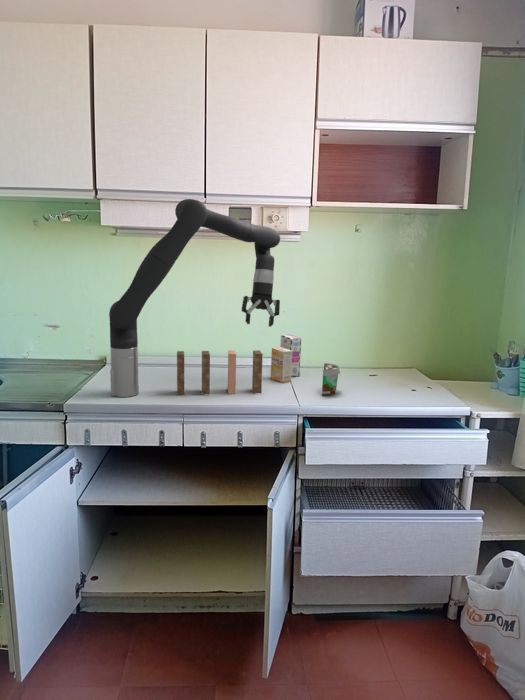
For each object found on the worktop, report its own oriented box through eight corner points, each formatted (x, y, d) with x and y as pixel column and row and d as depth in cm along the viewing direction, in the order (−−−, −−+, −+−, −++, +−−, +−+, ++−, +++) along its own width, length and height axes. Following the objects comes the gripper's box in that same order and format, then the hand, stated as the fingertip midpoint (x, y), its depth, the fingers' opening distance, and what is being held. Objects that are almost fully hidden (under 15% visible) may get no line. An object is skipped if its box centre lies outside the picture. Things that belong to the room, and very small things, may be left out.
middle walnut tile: (202, 395, 177) (202, 354, 174) (201, 390, 183) (201, 350, 180) (209, 394, 178) (209, 354, 175) (208, 390, 183) (208, 350, 180)
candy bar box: (300, 376, 207) (301, 338, 204) (289, 377, 205) (290, 338, 202) (289, 370, 217) (290, 333, 214) (278, 371, 215) (280, 334, 212)
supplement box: (269, 378, 202) (270, 347, 200) (279, 377, 205) (280, 346, 203) (282, 383, 196) (283, 351, 193) (291, 381, 199) (293, 350, 196)
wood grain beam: (254, 393, 181) (255, 353, 178) (252, 389, 186) (253, 350, 183) (261, 393, 181) (262, 353, 178) (258, 389, 187) (259, 350, 184)
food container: (338, 398, 179) (340, 371, 177) (321, 396, 179) (323, 370, 177) (338, 388, 190) (340, 363, 188) (322, 387, 191) (324, 362, 189)
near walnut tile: (177, 395, 176) (177, 354, 173) (177, 391, 181) (176, 351, 178) (184, 395, 176) (184, 354, 173) (184, 390, 182) (183, 351, 179)
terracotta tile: (228, 394, 179) (229, 353, 176) (227, 389, 185) (228, 350, 182) (235, 394, 180) (236, 353, 177) (234, 389, 185) (234, 350, 182)
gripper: (246, 279, 181) (242, 323, 181) (284, 283, 184) (279, 327, 184) (242, 281, 188) (238, 323, 188) (278, 285, 191) (274, 327, 192)
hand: (259, 325), depth 186 cm, fingers open, 8 cm apart
